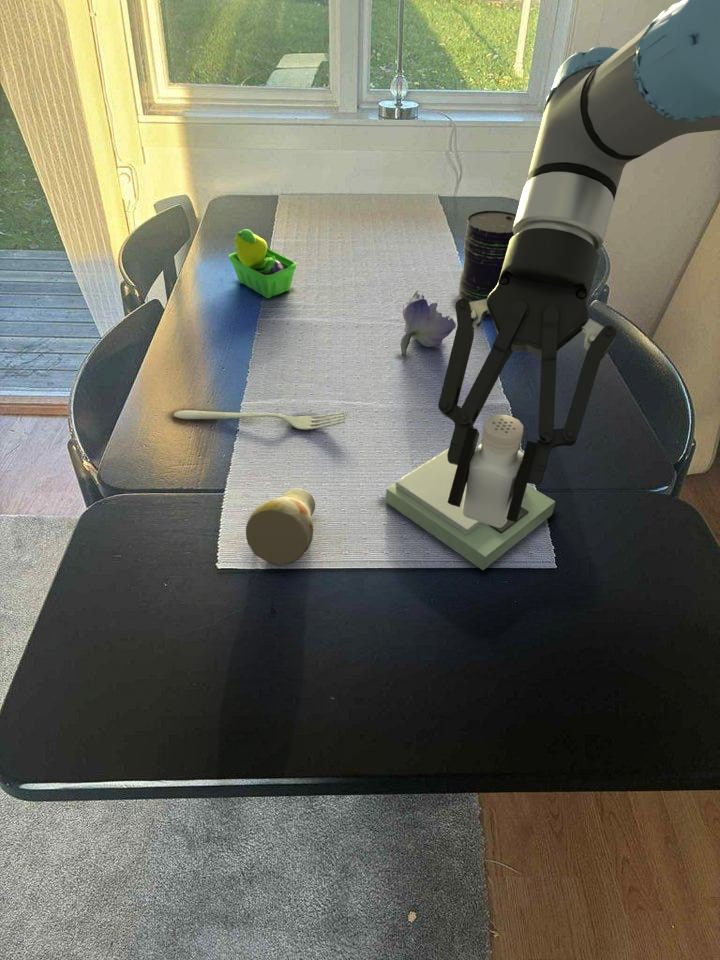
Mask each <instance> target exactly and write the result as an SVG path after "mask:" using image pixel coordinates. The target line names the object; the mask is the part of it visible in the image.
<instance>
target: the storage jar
mask: <svg viewBox="0 0 720 960" xmlns="http://www.w3.org/2000/svg"><path fill="white" fill-rule="evenodd" d="M516 215H517V213H513V212H509V211H503V210H481V211H476V212H474V213H471V214H470V215H469V216H468V217H467V221H466V225H467V226H466V231H465V232H466V233H465V234H464V245H463V253H464V259H463V267H462V271H461V273H460V279H459V284H458V285H459V286H458V300H459V299H462V298H465V299H467V300H468V301H469V302H472V301H478V300H484V299H487V298H488V296H489V294H490V293H491V292H492V291H493V290H494V289H495V287H496V286H497V284H498V281H499V278H500V274H501V270H502V267H503V263H504V259H505V256H506V252H507V249H508V245H509V241H510V239H511V238H512V237H513V236H514V233H513V226H514V223H515V219H516ZM458 300H457V301H458ZM483 319H491V316H490V314H486V315H485V316H484V317H483Z"/></svg>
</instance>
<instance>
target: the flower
mask: <svg viewBox="0 0 720 960" xmlns="http://www.w3.org/2000/svg"><path fill="white" fill-rule="evenodd" d="M438 305H439V304H438V303H437V302H431V303H430V304H428V300H427V299H426V298H425V295H424V294H421V295H420V294H419V289H415V290H414V292H413V294H412V295H411V297H410V299H409V300H408V301H407V302H405V303H404V304H403V305H402V316H403V320H404V329H403V330H404V333H405V334H404V335H403V336H402V338H401V342H400V352H401V357H407V351H408V348H409V346H410V344H411V339H412V338H414V339H416V341H418V342H419V343H420V344H421V345H423V347H427V348H435V347H439V346H441V345H442V343H443V340H444V339H446V338H447V337H449V336H450V334H451V333H452V332H453V331H454V330H455V329H456V328H457V324H456V322H455V321H454V319H453V317H450V315H446V316H443V313H442V312H439V311H438V310H437V307H438Z"/></svg>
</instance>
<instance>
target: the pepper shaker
mask: <svg viewBox="0 0 720 960" xmlns="http://www.w3.org/2000/svg"><path fill="white" fill-rule="evenodd" d="M482 430H483V431H482V435H481V440H480V444H479V445H478V447H476V450H475V453H474V455H473V457H472V459H471V461H470V464H469V470H468V477H467V483H466V489H465V496H464V502H463V515H464V516H465V517H467V518H470V519H473V520H476V521H479V522H482V523H485V524H488V525H491V526H494V527H497V528H502V527H503V526H504V525H505V524H506V522H507V514H508V511H509V507H510V503H511V500H512V496H513V492H514V489H515V485H516V481H517V477H518V474H519V470H520V466H521V463H522V459H523V455H524V452H523V451H521V450H520V449H521V447H522V446H521V444H522V439H523V434H524V425H523V423H522V422H521V421H520V420H519V419H518V418H515V417H513V416H511V415H506V414H496V415H491V416H489V417H487V419H485V420H484V424H483V429H482Z"/></svg>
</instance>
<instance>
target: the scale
mask: <svg viewBox="0 0 720 960" xmlns="http://www.w3.org/2000/svg"><path fill="white" fill-rule="evenodd" d="M448 450H449V448H447V449H445V450H444V451H442V452H440V453H439V454H438V455H436V456H434V457H433V458H431V459H429V460H428V461H426V462H425V463H423V464H422V465H420V466H419V467H416V469H414V470H412V471H411V472H409V473H407V474H406V475H404V476H403V477H401V478H399V479H398V480H396V482H395V483H393V484H391V485H390V486H388V487H387V488H386V491H385V492H386V493H385V503H386V504H388V505H389V506H391V507H392V508H394V509H395V510H396V511H397V512H399V513H401V514H402V515H404V516H405V517H406V518H408V519H409V520H411V521H412V522H414V523H415V524H416V525H418V526H419V527H420V528H422V529H423V530H425V531H426V532H428V533H429V534H430V535H432V536H433V537H435V539H437V540H439V541H440V542H441V543H443V544H445V545H446V546H447V547H449V548H450V549H451V550H453V551H454V552H456V553H457V554H458V555H460V556H462V557H463V558H464V559H466V560H468V561H469V562H470V563H472V564H473V566H476V567H477V568H479V569H480V570H482V571H484V570H485V569H487V568H488V567H489V566H490V565H491V564H493V563H494V562H496V560H497V559H499V558H501V557H502V556H503V555H504V554H505V553H507V552H508V551H509V550H510V549H512V548H513V547H514V546H515V545H517V544H518V543H519V542H521V540H523V539H524V538H525V537H526V536H528V535H530V533H531V532H533V531H534V530H535V529H537V528H538V527H539V526H540V525H542V524H543V523H544V522H545V521H546V520H548V519H549V518H550V517H551V516H552V515H553V514H554V508H555V505H556V501H555V500H554V499H552V498H550V497H549V496H547V495H545V494H544V493H542V492H540V491H539V490H537V489H535V488H534V487H532V486H530V485H528V484H527V486H526V490H525V493H524V497H523V501H522V505H521V508H520V512H519V516H518V519H517V522H513V521H510V520H507V522H506V524H505V525H504V526H503V527H502V528H497V527H494V526H491V525H488V524H485V523H482V522H479V521H476V520H473V519H470V518H467V517H465V516H464V515H463V502H464V496H465V490H464V494H463V497H462V501H461V505H460V507H457V506H454V505H451V504H449V503H447V502H448V499H449V495H450V491H451V488H452V484H453V480H454V477H455V473H456V469H457V466H458V465H454V464H450V463H449V462H448V457H447V454H448ZM465 489H466V486H465Z"/></svg>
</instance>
